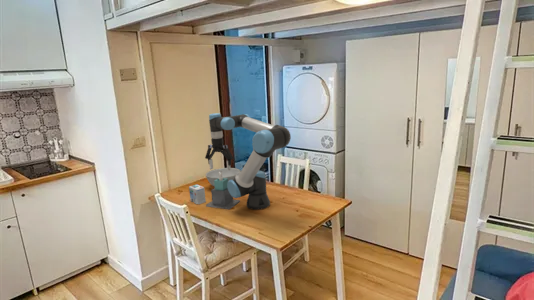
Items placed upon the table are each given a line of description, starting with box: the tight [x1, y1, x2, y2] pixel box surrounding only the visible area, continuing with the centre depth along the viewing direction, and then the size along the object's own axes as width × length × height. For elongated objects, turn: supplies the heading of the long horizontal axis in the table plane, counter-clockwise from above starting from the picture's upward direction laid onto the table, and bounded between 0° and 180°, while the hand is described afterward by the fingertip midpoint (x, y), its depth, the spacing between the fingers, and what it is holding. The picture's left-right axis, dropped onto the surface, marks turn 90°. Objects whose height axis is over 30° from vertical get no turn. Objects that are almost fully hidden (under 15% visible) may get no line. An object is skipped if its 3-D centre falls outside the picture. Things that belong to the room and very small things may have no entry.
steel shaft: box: [218, 171, 223, 181], centre depth 220 cm, size 2×2×16 cm
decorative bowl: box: [205, 167, 242, 188], centre depth 256 cm, size 27×27×12 cm
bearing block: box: [205, 187, 241, 210], centre depth 222 cm, size 18×14×11 cm
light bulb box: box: [188, 184, 207, 205], centre depth 230 cm, size 11×7×11 cm, turn 40°
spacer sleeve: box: [214, 178, 228, 190], centre depth 220 cm, size 6×6×6 cm
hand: (220, 169), depth 218 cm, fingers open, 13 cm apart
